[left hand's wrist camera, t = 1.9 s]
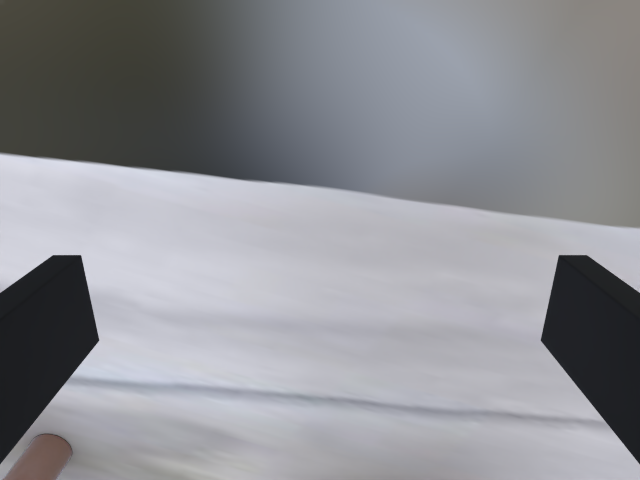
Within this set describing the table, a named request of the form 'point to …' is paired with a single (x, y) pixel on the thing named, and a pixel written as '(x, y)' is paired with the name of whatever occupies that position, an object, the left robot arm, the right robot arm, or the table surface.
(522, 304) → the table surface
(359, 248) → the table surface
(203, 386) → the table surface
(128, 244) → the table surface
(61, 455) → the jar
